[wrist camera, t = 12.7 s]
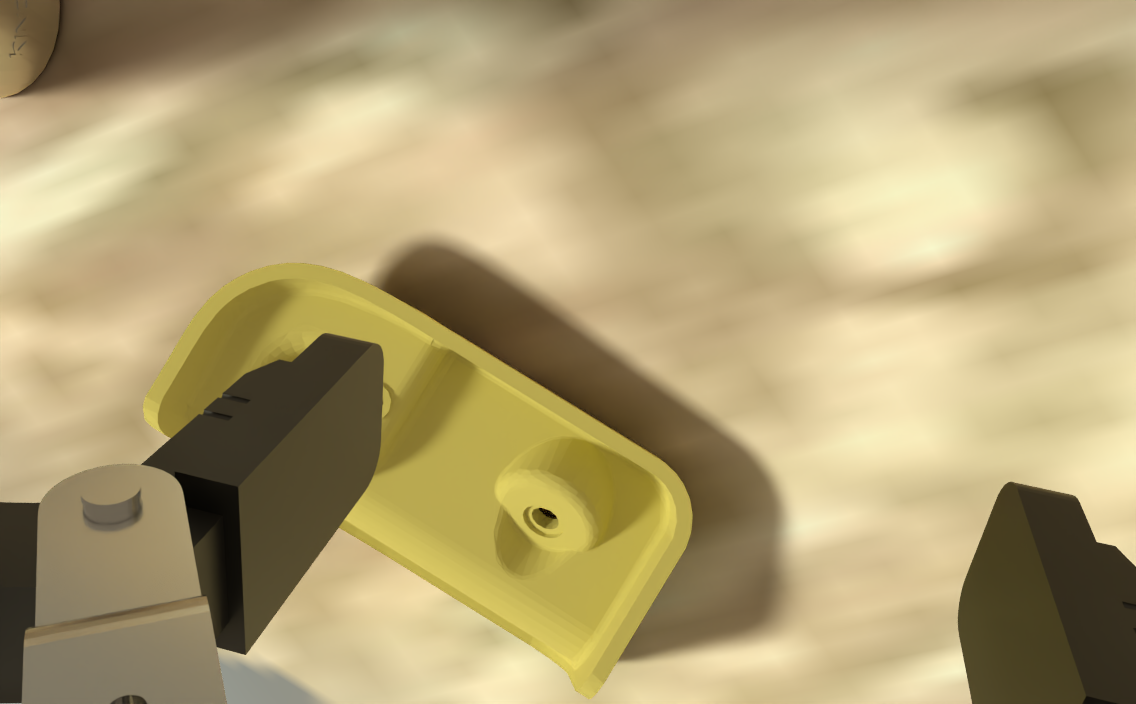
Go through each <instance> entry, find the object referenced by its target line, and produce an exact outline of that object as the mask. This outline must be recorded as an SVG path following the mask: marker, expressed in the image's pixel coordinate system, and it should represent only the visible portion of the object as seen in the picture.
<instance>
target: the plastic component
mask: <svg viewBox="0 0 1136 704" xmlns="http://www.w3.org/2000/svg"><path fill="white" fill-rule="evenodd" d="M324 333H330V334H335V335H340V336H344V337H349V338H354V339H358V340H363V341H367V342H372V343H377V344H379V345H380V346H381V348H382V350H383V356H384V374H383V405H382V429H381V447H380V454H379V459H378V463H377V466H376V470H375V473H374V475H373V478H372V480H371V482H370V484H369V486H368V488H367V489H366V491H365V492H364V493H363V495H362V496H361V498H360V499H359V500H358V502H357V503H356V504H355V506H354V507H353V508H352V510H351V511H350V513H349V514H348V515H347V517H346V518H345V519H344V521H343V522H342V524H341V525H340V526H339V528H341V529H342V530H344V531H346V532H347V533H349V534H351V535H352V536H354V537H356V538H358V539H359V540H361V541H363V542H364V543H366V544H368V545H369V546H371V547H372V548H374V549H376V550H377V551H379V552H381V553H382V554H384V555H386V556H387V557H389V558H391V559H392V560H394V561H395V562H397V563H399V564H400V565H402V566H404V567H405V568H407V569H408V570H410V571H412V572H413V573H415V574H416V575H418V576H420V577H421V578H423V579H424V580H426V581H428V582H429V583H431V584H432V585H434V586H436V587H437V588H439V589H440V590H442V591H444V592H445V593H447V594H449V595H450V596H452V597H453V598H455V599H457V600H458V601H460V602H461V603H463V604H465V605H466V606H468V607H469V608H471V609H473V610H474V611H476V612H477V613H479V614H481V615H482V616H484V617H485V618H487V619H489V620H490V621H492V622H493V623H495V624H497V625H498V626H500V627H502V628H503V629H505V630H506V631H508V632H510V633H511V634H513V635H514V636H516V637H518V638H519V639H521V640H522V641H524V642H526V643H527V644H529V645H530V646H532V647H533V648H535V649H536V650H538V651H540V652H541V653H542V654H544V655H545V656H547V657H548V658H550V659H551V660H552V661H554V662H555V663H556V664H558V665H559V666H560V667H561V668H562V669H564V670H565V671H566V672H567V673H568V675H569V678H570V680H571V682H572V684H573V686H574V688H575V690H576V691H577V692H578V693H580V694H582V695H583V696H585V697H586V698H588V699H591V698H592V697H593V696H594V695H595V694H596V693H597V692H598V691H599V689H600V688H601V687H602V685H603V684H604V682H605V681H606V679H607V678H608V676H609V674H610V673H611V671H612V669H613V668H614V666H615V664H616V663H617V661H618V659H619V658H620V656H621V654H622V653H623V651H624V649H625V648H626V646H627V645H628V643H629V641H630V640H631V638H632V636H633V635H634V633H635V631H636V630H637V628H638V626H639V625H640V623H641V621H642V620H643V618H644V616H645V615H646V613H647V612H648V610H649V608H650V607H651V605H652V603H653V602H654V600H655V598H656V597H657V595H658V593H659V592H660V590H661V588H662V587H663V585H664V583H665V582H666V580H667V579H668V577H669V575H670V574H671V572H672V570H673V569H674V567H675V565H676V564H677V562H678V560H679V559H680V557H681V555H682V554H683V552H684V551H685V549H686V546H687V544H688V541H689V538H690V535H691V529H692V517H693V514H692V508H691V503H690V498H689V495H688V493H687V491H686V488H685V486H684V484H683V483H682V481H681V480H680V478H679V477H678V475H677V474H676V473H675V472H674V471H673V470H672V469H671V468H670V467H669V466H668V465H667V464H666V463H665V462H663V461H662V460H661V459H660V458H659V457H657V456H655V455H654V454H652V453H651V452H649V451H647V450H646V449H644V448H642V447H641V446H639V445H638V444H636V443H634V442H633V441H631V440H629V439H628V438H626V437H625V436H623V435H621V434H620V433H618V432H616V431H615V430H613V429H611V428H610V427H608V426H607V425H605V424H603V423H602V422H600V421H598V420H597V419H595V418H594V417H592V416H590V415H589V414H587V413H585V412H584V411H582V410H581V409H579V408H577V407H576V406H574V405H572V404H571V403H569V402H568V401H566V400H564V399H563V398H561V397H559V396H558V395H556V394H555V393H553V392H551V391H550V390H548V389H546V388H545V387H543V386H542V385H540V384H538V383H537V382H535V381H533V380H532V379H530V378H529V377H527V376H525V375H524V374H522V373H520V372H519V371H517V370H516V369H514V368H512V367H511V366H509V365H507V364H506V363H504V362H503V361H501V360H499V359H498V358H496V357H494V356H493V355H491V354H490V353H488V352H486V351H485V350H483V349H481V348H480V347H478V346H477V345H475V344H473V343H472V342H470V341H468V340H467V339H465V338H464V337H462V336H460V335H458V334H456V333H455V332H453V331H451V330H450V329H448V328H446V327H445V326H443V325H442V324H440V323H439V322H437V321H436V320H434V319H432V318H431V317H429V316H428V315H426V314H424V313H423V312H421V311H419V310H417V309H415V308H413V307H412V306H410V305H408V304H406V303H404V302H402V301H401V300H399V299H397V298H395V297H393V296H392V295H390V294H388V293H386V292H384V291H382V290H380V289H379V288H377V287H375V286H373V285H371V284H369V283H366V282H364V281H362V280H360V279H357V278H355V277H353V276H350V275H348V274H346V273H343V272H341V271H337V270H334V269H330V268H327V267H323V266H319V265H312V264H305V263H284V264H277V265H270V266H266V267H263V268H260V269H256V270H253V271H250V272H248V273H246V274H244V275H242V276H240V277H238V278H236V279H234V280H233V281H231V282H230V283H228V284H226V285H225V286H223V287H222V288H221V289H220V290H219V291H218V292H216V293H215V294H214V295H213V296H212V297H211V298H210V299H209V300H208V301H207V302H206V303H205V304H204V306H203V307H202V308H201V309H200V310H199V312H198V313H197V314H196V315H195V317H194V318H193V320H192V321H191V322H190V324H189V325H188V327H187V329H186V330H185V332H184V334H183V335H182V337H181V338H180V340H179V342H178V343H177V345H176V347H175V348H174V350H173V352H172V354H171V355H170V357H169V359H168V360H167V362H166V364H165V365H164V367H163V369H162V370H161V372H160V374H159V375H158V377H157V379H156V380H155V382H154V384H153V385H152V387H151V389H150V390H149V392H148V393H147V395H146V397H145V401H144V404H143V411H144V417H145V420H146V421H147V422H148V423H149V424H150V426H152V427H153V428H155V429H156V430H158V431H159V432H161V433H163V434H164V435H166V436H168V437H170V438H172V437H173V436H174V435H175V434H177V433H178V432H179V431H180V430H181V429H182V428H183V427H185V426H186V425H187V424H188V423H189V422H190V421H191V420H193V419H194V418H195V417H196V416H197V415H198V414H203V412H204V409H205V408H206V407H207V406H209V405H210V404H211V403H212V402H213V401H214V400H215V399H217V398H218V397H219V398H221V397H222V393H223V392H225V391H226V390H227V389H228V388H229V387H230V386H231V385H233V384H234V383H235V382H236V381H237V380H238V379H239V378H241V377H242V376H243V375H244V374H245V373H248V372H250V371H253V370H255V369H257V368H260V367H262V366H265V365H267V364H269V363H272V362H274V361H277V360H279V359H280V360H284V361H289V362H292V361H293V360H294V359H295V358H297V357H298V356H299V355H300V354H301V353H302V352H303V351H304V350H305V349H306V348H307V347H308V346H309V345H310V344H312V343H313V342H314V341H315V340H316V339H317V338H318V337H319V336H320V335H322V334H324ZM539 508H544V509H547V510H550V511H551V512H552V513H553V514H555V515H556V517H557V519H552V518H550V517H547V516H545V515H544V514H543V513H542V512H541V511H540V510H539Z"/></svg>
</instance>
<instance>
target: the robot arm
mask: <svg viewBox="0 0 1136 704" xmlns="http://www.w3.org/2000/svg"><path fill="white" fill-rule="evenodd" d="M59 12H60V1H59V0H0V98H4V97H7V96H11V95H14V94H17V93H19V92H20V91H22V90H23V89H25V88H26V87H28V86H29V85H31V84H32V83H33V82H34V81H35V79H36V78H37V77H38V76H39V75H40V73H41V72H42V71H43V70H44V68H45V66H46V64H47V62H48V60H49V58H50V56H51V54H52V52H53V49H54V45H55V41H56V37H57V33H58V29H59ZM383 374H384V356H383V350H382V348H381V346H380V345H379V344H377V343H372V342H367V341H363V340H358V339H354V338H349V337H344V336H340V335H335V334H330V333H324V334H322V335H320V336H319V337H318V338H317V339H316V340H315V341H314V342H313V343H312V344H310V345H309V346H308V347H307V348H306V349H305V350H304V351H303V352H302V353H301V354H300V355H299V356H298V357H297V358H295V359H294V360H293V361H292V362H289V361H284V360H280V359H279V360H277V361H274V362H272V363H269V364H267V365H265V366H262V367H260V368H257V369H255V370H253V371H250V372H248V373H245V374H244V375H243V376H242V377H241V378H239V379H238V380H237V381H236V382H235V383H234V384H233V385H231V386H230V387H229V388H228V389H227V390H226V391H225V392H223V393H222V397H221V398H219V397H218V398H217V399H215V400H214V401H213V402H212V403H211V404H210V405H209V406H207V407H206V408H205V409H204V412H203V414H198V415H197V416H196V417H195V418H194V419H193V420H191V421H190V422H189V423H188V424H187V425H186V426H185V427H183V428H182V429H181V430H180V431H179V432H178V433H177V434H175V435H174V436H173V437H172V438H171V439H170V440H169V441H167V442H166V443H165V444H164V445H163V446H162V447H161V448H159V449H158V450H157V451H156V452H155V453H154V454H153V455H151V456H150V457H149V458H148V459H147V460H146V461H145V462H143V463H142V464H141V465H137V464H117V465H107V466H102V467H97V468H93V469H89V470H86V471H83V472H80V473H77V474H75V475H73V476H71V477H69V478H67V479H65V480H63V481H61V482H60V483H58V484H57V485H55V486H54V487H53V488H52V489H51V490H50V491H48V493H47V494H46V495H45V496H44V497H43V499H42V501H41V503H5V502H0V703H22V704H227V701H226V696H225V690H224V685H223V680H222V674H221V669H220V663H219V658H218V652H217V647H218V648H222V649H226V650H229V651H233V652H237V653H240V654H244V655H246V654H247V653H248V651H249V650H250V648H251V647H252V646H253V644H254V643H255V642H256V640H257V639H258V637H259V636H260V635H261V633H262V632H263V631H264V629H265V628H266V626H267V625H268V624H269V622H270V621H271V620H272V618H273V617H274V615H275V614H276V613H277V611H278V610H279V609H280V607H281V606H282V605H283V603H284V602H285V600H286V599H287V598H288V596H289V595H290V594H291V592H292V591H293V589H294V588H295V587H296V585H297V584H298V583H299V581H300V580H301V578H302V577H303V576H304V574H305V573H306V572H307V570H308V569H309V567H310V566H311V565H312V563H313V562H314V561H315V559H316V558H317V557H318V555H319V554H320V552H321V551H322V550H323V548H324V547H325V546H326V544H327V543H328V541H329V540H330V539H331V537H332V536H333V535H334V533H335V532H336V530H337V529H338V528H339V526H340V525H341V524H342V522H343V521H344V519H345V518H346V517H347V515H348V514H349V513H350V511H351V510H352V508H353V507H354V506H355V504H356V503H357V502H358V500H359V499H360V498H361V496H362V495H363V493H364V492H365V491H366V489H367V488H368V486H369V484H370V482H371V480H372V478H373V475H374V473H375V470H376V466H377V463H378V459H379V454H380V447H381V429H382V401H383ZM958 630H959V637H960V642H961V647H962V652H963V657H964V662H965V668H966V673H967V678H968V683H969V688H970V694H971V699H972V704H1136V567H1135V566H1134V565H1133V564H1132V563H1131V562H1130V561H1129V560H1128V559H1127V558H1126V557H1125V556H1124V555H1123V554H1122V552H1121V551H1120V550H1119V549H1118V548H1117V547H1116V546H1112V545H1107V544H1103V543H1098V542H1096V540H1095V537H1094V535H1093V533H1092V530H1091V528H1090V526H1089V523H1088V521H1087V519H1086V516H1085V514H1084V512H1083V509H1082V507H1081V504H1080V502H1079V500H1078V499H1077V498H1076V497H1075V496H1073V495H1069V494H1065V493H1060V492H1055V491H1051V490H1046V489H1042V488H1037V487H1032V486H1028V485H1023V484H1018V483H1014V482H1008V483H1007V484H1005V485H1004V487H1003V488H1002V489H1001V491H1000V493H999V495H998V497H997V499H996V502H995V504H994V507H993V509H992V512H991V514H990V517H989V520H988V522H987V525H986V527H985V530H984V532H983V535H982V537H981V540H980V542H979V545H978V548H977V550H976V553H975V555H974V558H973V560H972V563H971V565H970V568H969V571H968V573H967V576H966V578H965V581H964V584H963V588H962V592H961V596H960V602H959V610H958Z"/></svg>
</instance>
